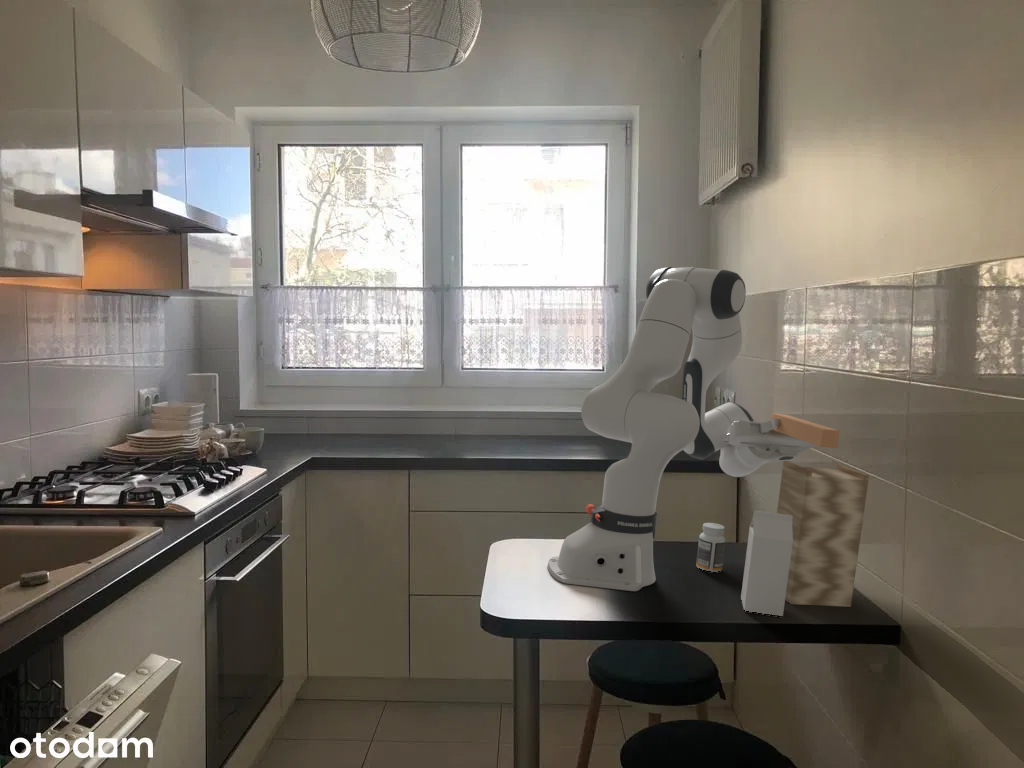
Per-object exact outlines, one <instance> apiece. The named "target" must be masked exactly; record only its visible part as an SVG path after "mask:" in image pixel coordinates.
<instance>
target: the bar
mask: <svg viewBox="0 0 1024 768" xmlns="http://www.w3.org/2000/svg"><path fill="white" fill-rule="evenodd" d="M772 419H780V420H781V427H779V428H778V429H772V430H775V431H778V432H780V433H783V434H786V435H789V436H792V437H795V438H797V439H800V440H803V441H806V442H809V443H812V444H814V445H815V446H816V447H817V446H818V447H821V448H834V449H838V446H839V445H838V444H839V437H840V430H839V429H836V428H832V427H829V426H826V425H823V424H819V423H815V422H812V421H809V420H806V419H802V418H799V417H795V416H792V415H789V414H785V413H784V414H781V413H771V417H770V421H771V420H772Z"/></svg>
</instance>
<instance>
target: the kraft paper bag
mask: <svg viewBox="0 0 1024 768" xmlns="http://www.w3.org/2000/svg"><path fill="white" fill-rule="evenodd" d="M781 471H782V472H781V478H780V484H779V485H780V486H779V492H778V493H779V494H778V501H777V509H776V513H777V514H784V515H792V516H793V518H792V532H793V543H792V551H791V559H790V566H789V574H788V581H787V589H786V597H785V602H787V603H788V602H789V603H790V605H804V606H806V605H808V606H823V607H824V606H827V607H849V608H851V607H852V601H853V593H854V586H855V579H856V572H857V564H858V556H859V550H860V545H861V544H860V543H861V536H862V529H863V522H864V516H865V508H866V499H867V493H868V488H869V487H868V486H869V479H870V475H869V474H868V473H867V474H866V473H863V472H861V471H858V470H856V469H854V468H850V467H848V466H847V465H843V464H837V465H836V469H835V468H824V467H814V466H813V467H809V466H800V465H798V464H796V463H794V462H791V461H789V460H783V464H782V470H781ZM789 603H788V604H789Z"/></svg>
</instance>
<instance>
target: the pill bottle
mask: <svg viewBox="0 0 1024 768" xmlns="http://www.w3.org/2000/svg"><path fill="white" fill-rule="evenodd" d="M725 529H726V528H725V526H724V525H723V524H720V523H716V522H704V523H703V524H702V531H703V532H701V533H700V534H699V535H698V536H699V537H698V545H697V553H696V554H697V555H696V563H695V565H696V568H698V569H699V568H700V569H702V570H701V571H703V570H706V571H711V572H710V573H713V572H716V573H719V572H718V571H720V572H722V571H723V566H724V559H725V558H724V557H725V548H726V541H727V540H726V538H725V536H724V534H725ZM700 569H699V570H700ZM721 570H722V571H721ZM706 571H705V572H706Z"/></svg>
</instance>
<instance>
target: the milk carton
mask: <svg viewBox="0 0 1024 768" xmlns="http://www.w3.org/2000/svg"><path fill="white" fill-rule="evenodd" d="M792 518H793V516H792V515H784V514H777V512H769V511H768V512H767V511H761V510H753V516H752V518H751V522H750V524H749V529H748V530H749V531H748V538H747V545H746V553H745V563H744V569H743V578H742V588H741V592H740V593H741V594H740V600H742V601H741V604H742V607H743V611H744V610H745V611H744V612H746V611H749V612H748V613H752V612H757V613H756V614H758V613H762V614H761V615H764V614H770V615H771V614H772V615H779V616H783V617H784V611H785V605H786V604H785V603H786V600H785V597H786V589H787V581H788V574H789V566H790V559H791V551H792V543H793V532H792ZM770 615H769V616H770Z"/></svg>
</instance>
